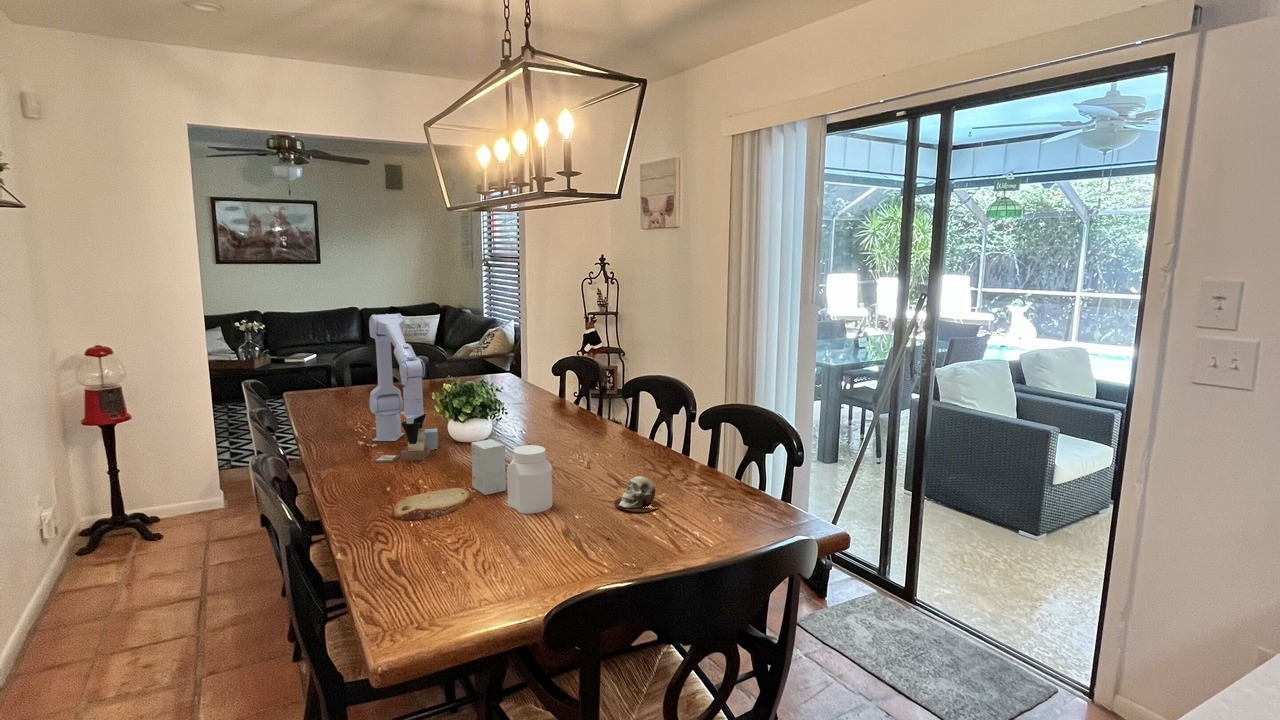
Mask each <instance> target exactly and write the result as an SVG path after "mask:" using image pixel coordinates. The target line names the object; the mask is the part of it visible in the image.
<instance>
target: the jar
mask: <svg viewBox="0 0 1280 720" xmlns="http://www.w3.org/2000/svg"><path fill="white" fill-rule="evenodd" d="M546 449H547V448H545V447H544V446H540V445H536V444H534V445H533V444H529V445H528V444H527V445H520V446H517V447H515V448H514V449H513V450H512V454H513V456H512V460H511V461H510V463H509V464H508V466H507V467H506V473H507V475H506V476H507V477H506V478H507V479H506V480H507V506H508V507H509V508H512V509H514V510H516V511H517V512H518V513H520V514H526V515H530V514H538V513H539V514H540V513H542V512H545V511H548V510H550V509H551V508H552V506H553V466H552V464H551V463H550V461H549V459H547V457H546Z"/></svg>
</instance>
